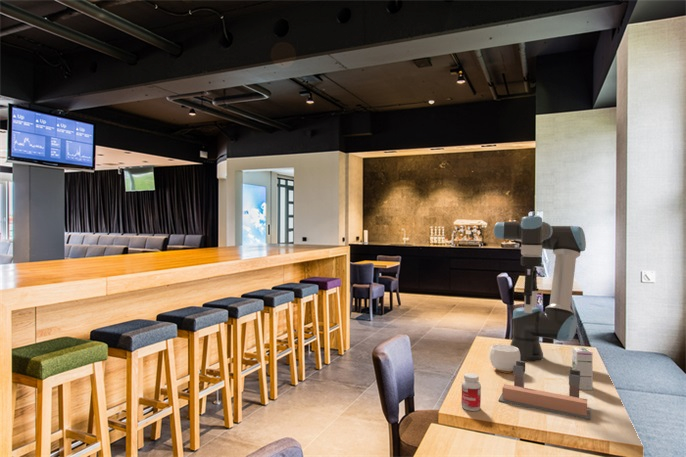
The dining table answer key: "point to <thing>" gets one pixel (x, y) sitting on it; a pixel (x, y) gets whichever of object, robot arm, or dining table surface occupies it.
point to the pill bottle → (471, 392)
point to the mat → (547, 409)
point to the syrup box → (583, 366)
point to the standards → (573, 378)
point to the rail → (545, 399)
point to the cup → (504, 357)
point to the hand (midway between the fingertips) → (530, 309)
